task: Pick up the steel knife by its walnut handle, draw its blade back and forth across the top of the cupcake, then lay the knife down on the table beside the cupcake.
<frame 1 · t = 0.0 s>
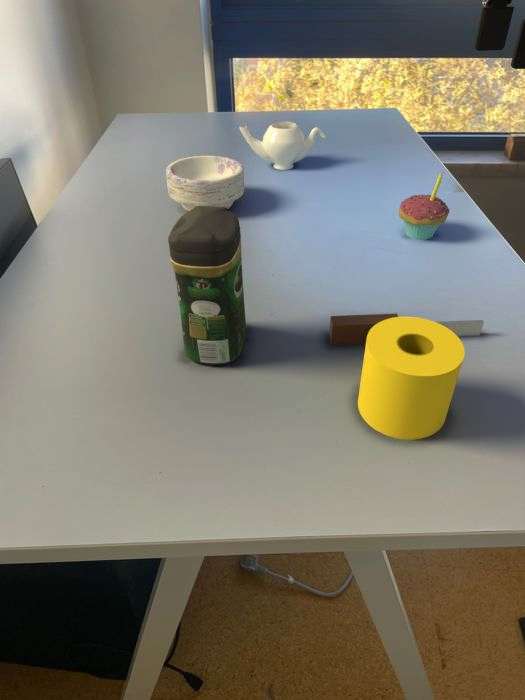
hand: (506, 58, 54), 33 cm above the table, tool pointing down, fingers open, 9 cm apart
tape roll: (400, 408, 60), on the table
knife: (399, 338, 70), on the table
teapot: (283, 167, 122), on the table
coffee jar: (216, 346, 70), on the table
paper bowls: (207, 206, 105), on the table
cupcake: (418, 235, 94), on the table
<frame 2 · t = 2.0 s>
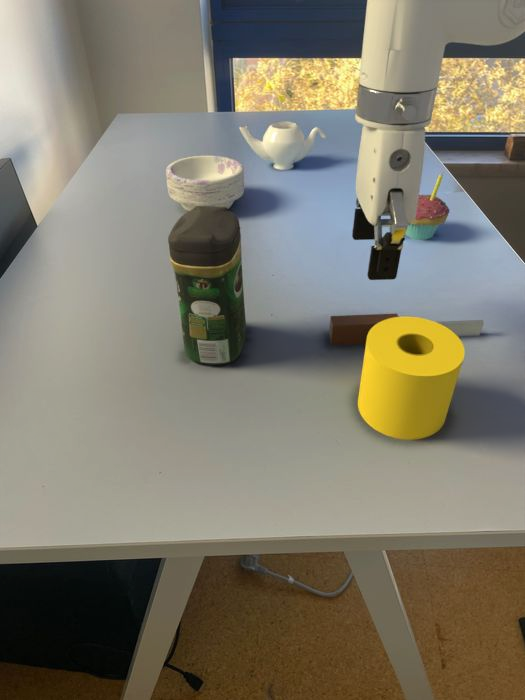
hand: (372, 257, 62), 13 cm above the table, tool pointing down, fingers open, 9 cm apart
nothing on the table moved.
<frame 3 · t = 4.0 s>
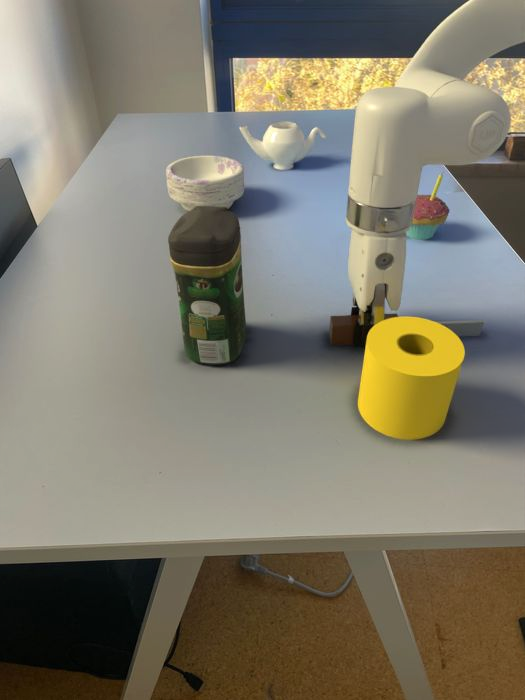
hand: (363, 337, 70), 0 cm above the table, tool pointing down, fingers closed on knife, 2 cm apart
knife: (399, 338, 70), on the table, touching gripper
everything else where it was.
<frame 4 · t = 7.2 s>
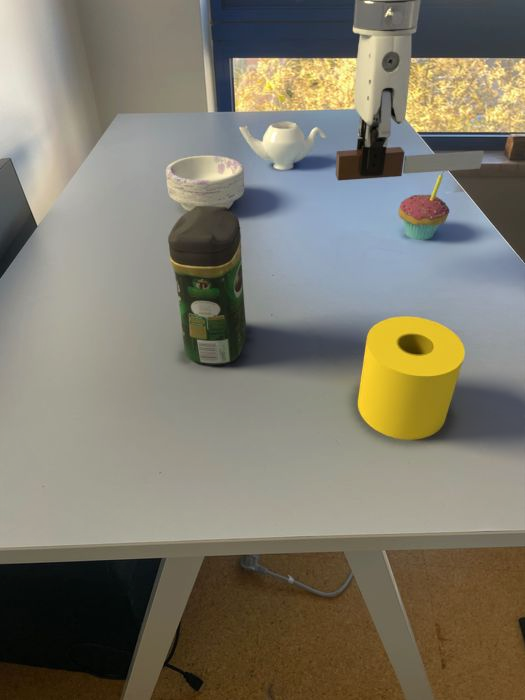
hand: (368, 170, 73), 17 cm above the table, tool pointing down, fingers closed on knife
knife: (403, 173, 73), point 16 cm above the table, touching gripper
everything else where it was.
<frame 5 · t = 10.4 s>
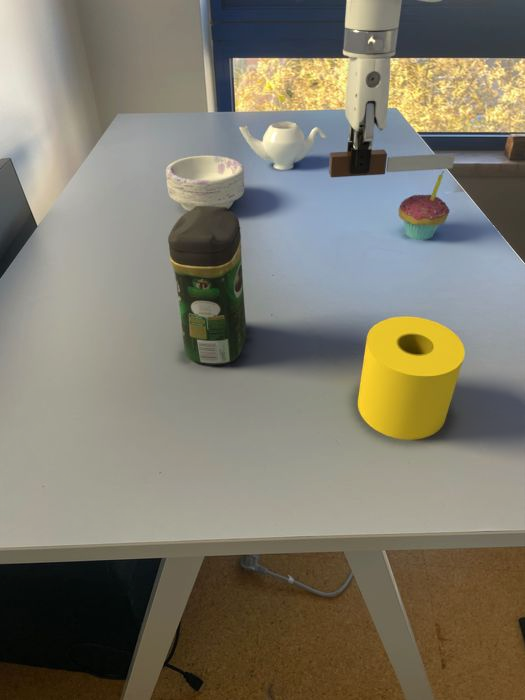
hand: (357, 168, 86), 12 cm above the table, tool pointing down, fingers closed on knife
knife: (386, 171, 86), point 12 cm above the table, touching gripper
everything else where it was.
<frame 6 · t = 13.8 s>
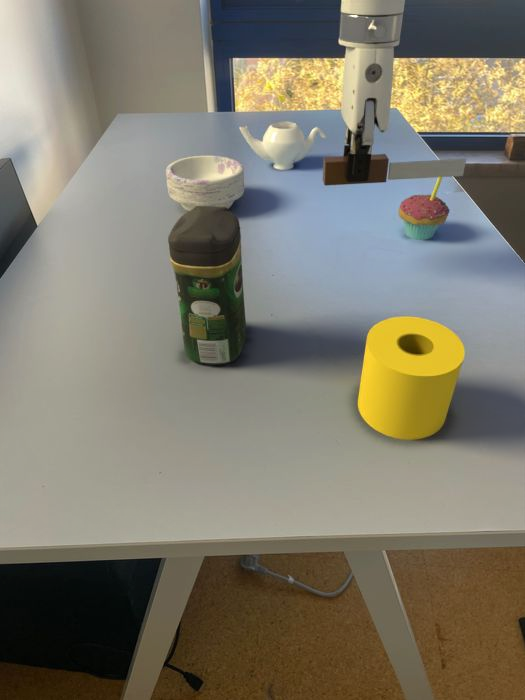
hand: (354, 175, 75), 15 cm above the table, tool pointing down, fingers closed on knife
knife: (387, 179, 76), point 15 cm above the table, touching gripper
everything else where it was.
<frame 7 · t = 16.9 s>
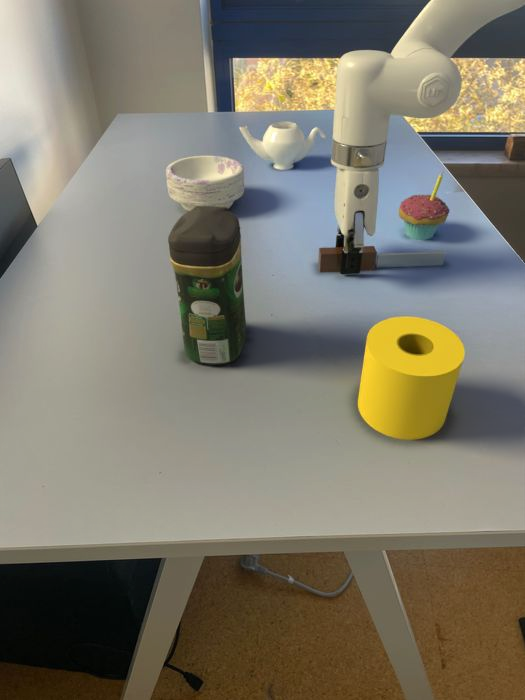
hand: (347, 264, 84), 1 cm above the table, tool pointing down, fingers open, 4 cm apart
knife: (376, 267, 85), on the table
everything else where it was.
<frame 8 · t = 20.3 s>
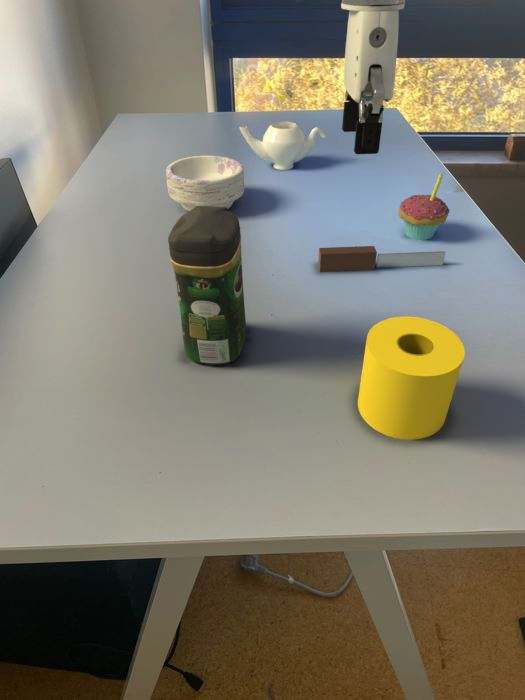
hand: (359, 141, 72), 20 cm above the table, tool pointing down, fingers open, 9 cm apart
nothing on the table moved.
at the end: knife inside the target area on the table beside the cupcake (0.1 cm from its centre), on the table; cupcake tilted 0°; cupcake moved 0.2 cm from its start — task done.
